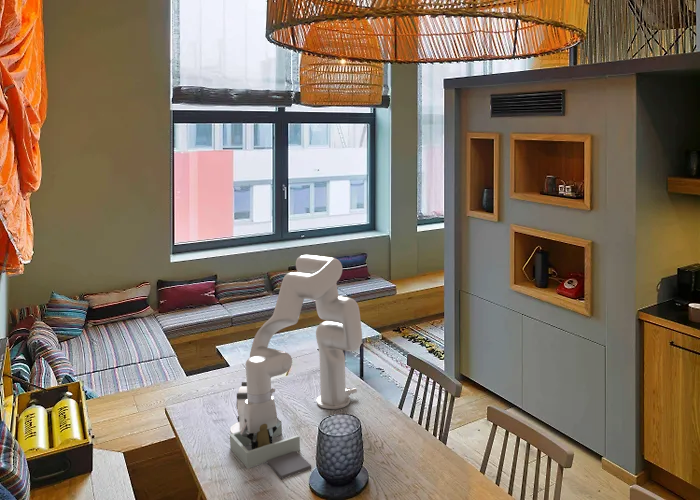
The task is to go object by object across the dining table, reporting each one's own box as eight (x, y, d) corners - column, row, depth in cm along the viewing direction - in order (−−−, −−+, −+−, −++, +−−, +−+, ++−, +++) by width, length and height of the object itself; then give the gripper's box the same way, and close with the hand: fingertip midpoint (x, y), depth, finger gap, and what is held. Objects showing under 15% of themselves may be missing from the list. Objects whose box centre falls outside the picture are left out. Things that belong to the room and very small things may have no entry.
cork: (267, 456, 183) (266, 424, 181) (249, 454, 184) (247, 422, 182) (274, 446, 189) (272, 415, 187) (256, 445, 190) (254, 413, 188)
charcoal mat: (295, 453, 184) (295, 451, 184) (311, 468, 176) (311, 465, 176) (267, 463, 179) (266, 460, 179) (281, 479, 171) (281, 475, 170)
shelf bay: (280, 433, 198) (280, 419, 197) (300, 450, 186) (299, 436, 185) (230, 448, 188) (229, 434, 187) (247, 468, 176) (246, 453, 176)
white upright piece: (234, 420, 208) (231, 380, 205) (265, 419, 208) (263, 380, 205) (227, 437, 196) (224, 395, 193) (261, 436, 196) (258, 394, 193)
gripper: (278, 385, 191) (280, 436, 194) (229, 397, 182) (233, 451, 185) (288, 393, 184) (290, 446, 188) (239, 406, 176) (242, 462, 179)
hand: (262, 448), depth 186 cm, fingers closed on cork, 3 cm apart
